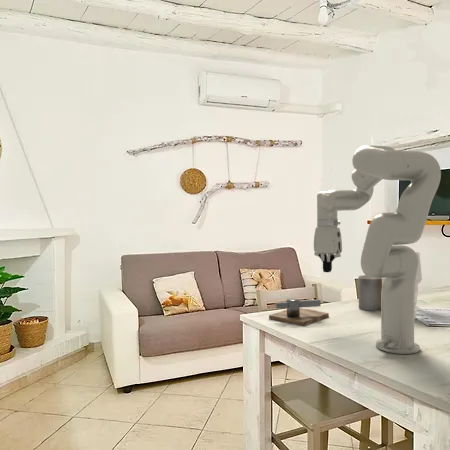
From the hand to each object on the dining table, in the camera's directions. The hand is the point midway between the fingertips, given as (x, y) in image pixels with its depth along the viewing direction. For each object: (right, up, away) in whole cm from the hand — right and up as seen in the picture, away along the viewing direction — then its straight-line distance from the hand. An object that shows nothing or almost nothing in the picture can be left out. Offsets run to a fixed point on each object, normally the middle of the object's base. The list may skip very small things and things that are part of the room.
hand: (327, 271), depth 170 cm
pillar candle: (+23, -18, +20) cm, 36 cm away
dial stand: (-10, -19, +6) cm, 22 cm away
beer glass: (+33, -19, +4) cm, 38 cm away
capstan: (-11, -17, +3) cm, 20 cm away
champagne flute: (+41, -18, +19) cm, 48 cm away
